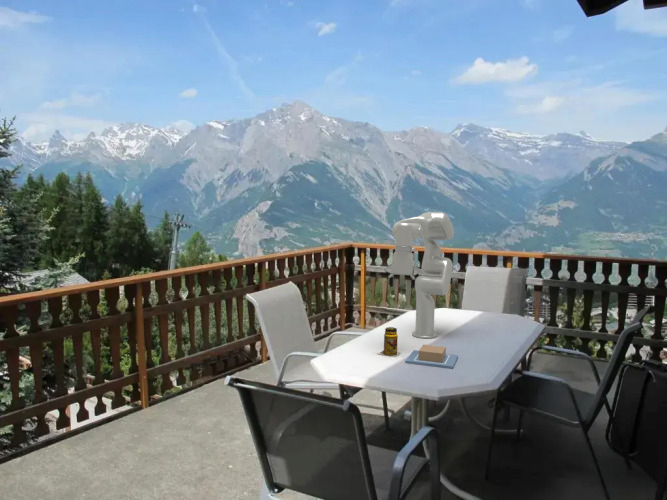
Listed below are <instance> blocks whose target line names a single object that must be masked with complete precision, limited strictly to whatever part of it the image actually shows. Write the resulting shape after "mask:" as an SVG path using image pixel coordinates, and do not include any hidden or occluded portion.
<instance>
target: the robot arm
mask: <svg viewBox="0 0 667 500" xmlns="http://www.w3.org/2000/svg"><path fill="white" fill-rule="evenodd" d="M391 232H392V236H393V238H395V244H394V245H395V248H394V249H395V250H394V252H393V254H392V259H391V264H390V265H388V266H386V267H384V268H383V270H384V272H385V275H386V276H387V277H388V279H389V281H388V283H389V284H388V285H389V287H390V288H391V287H393V286H394V276H395V275H400V276H410V278H411V280H410V289H415V297H416V298H415V303H416V304H415V331H412V333H411V334H412V336H413V337H415V338H420V339H434V338H436V337H437V335H438V334H437V333H436V332H435V309H436V307H435V306H436V304H435V303H436V302H435V300H434V298H433V296H446V295H447V294H448V292H449V290H450V285H451V281H452V280H451V279H452V275H453V261H452V260H451V259H450V258H449V257H443V256H442V257H441V255H442V249H441V247H440V245H439V243H438V242H437V241H436V240H438V241H450V240H452V239H453V238H454V235H455V229H454V226H453V224H452V221H451V220H450V217H449V215H448V214H447V213H445V212H442V211H427V212H424V213H421V214H420V215H417V216H415V217H414V216H413V217H410V218H406V219H401V220H399V221H397V222H395V223H394V224H393V226H392V229H391ZM421 237H422V241H423V243H424V253H423V257H422V263H421V269H420V268H418V267H417V266H416V265H415V257H414V256H415V255H414V254H415V253H412V252H415V251H416V248H415V247H413V240H419V239H421ZM389 270H390V271H389ZM415 271H417V272H416V274H415ZM390 272H391V273H390ZM421 273H423V275H421ZM432 295H433V296H432Z"/></svg>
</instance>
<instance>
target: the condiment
mask: <svg viewBox="0 0 667 500" xmlns="http://www.w3.org/2000/svg"><path fill="white" fill-rule="evenodd" d="M384 329H385V330H384V335H383V350H382V351H379V352H378V353H377V355H382V356H386V357H392V358H395V357H396V356H398V355H400V354H401V353H400V352H398V337H399V336H398V334H397V333H398V329H397V328H396V327H392V326H388V327H386V328H384Z"/></svg>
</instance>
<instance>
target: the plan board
mask: <svg viewBox="0 0 667 500" xmlns="http://www.w3.org/2000/svg"><path fill="white" fill-rule="evenodd" d="M446 351H447V347H446V346H441V345H440V346H439V345H432V344H431V345H430V344H423V345H422V346H421V347H420V349H419V350H416V349H413V350H412V352H411V353H410V354H409V355H408V357H407V358H406V359H405V361H404V363H405V364H410V365H418V366H426V367H427V366H428V367H434V368H443V369H450V368H452V369H454V367H455V365H456V363H457V360H458V358H459V354H452V353H446ZM455 362H456V363H455ZM452 369H451V370H452Z"/></svg>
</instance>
